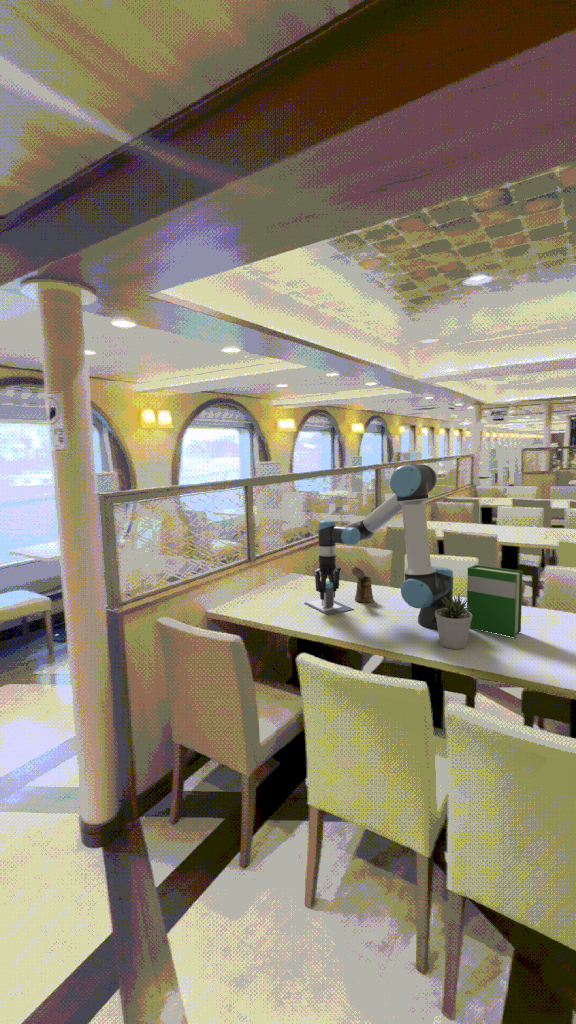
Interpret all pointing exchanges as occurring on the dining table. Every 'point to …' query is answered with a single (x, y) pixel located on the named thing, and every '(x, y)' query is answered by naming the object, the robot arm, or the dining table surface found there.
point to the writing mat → (330, 610)
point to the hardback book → (495, 599)
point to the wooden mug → (363, 587)
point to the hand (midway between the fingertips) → (327, 605)
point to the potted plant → (453, 623)
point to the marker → (329, 594)
